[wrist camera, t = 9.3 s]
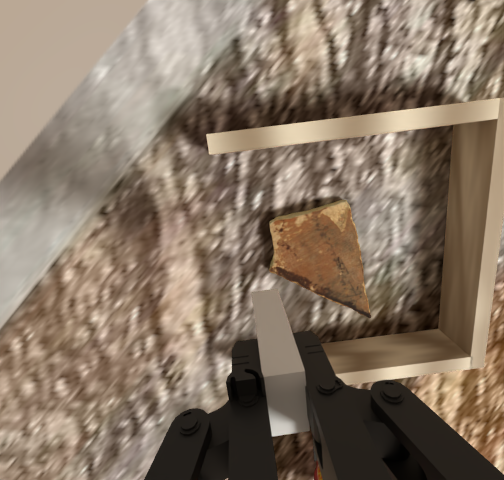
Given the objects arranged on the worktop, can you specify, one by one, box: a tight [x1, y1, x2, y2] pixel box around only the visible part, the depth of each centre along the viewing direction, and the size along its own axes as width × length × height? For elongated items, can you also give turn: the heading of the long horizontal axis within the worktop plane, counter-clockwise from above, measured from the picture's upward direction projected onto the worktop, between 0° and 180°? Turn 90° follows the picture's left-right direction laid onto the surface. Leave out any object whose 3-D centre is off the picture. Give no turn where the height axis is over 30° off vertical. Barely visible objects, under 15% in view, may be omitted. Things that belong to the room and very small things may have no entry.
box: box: [206, 98, 504, 385], centre depth 23 cm, size 20×20×4 cm
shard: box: [269, 200, 371, 318], centre depth 25 cm, size 11×8×2 cm
